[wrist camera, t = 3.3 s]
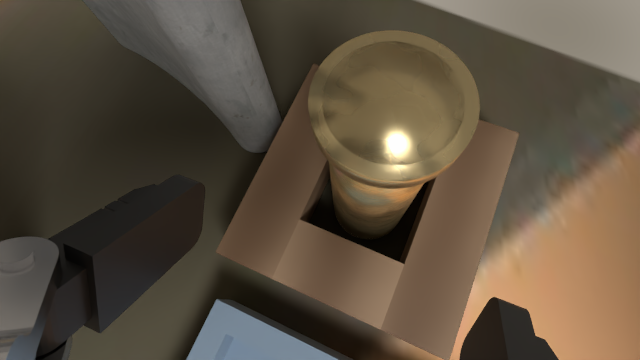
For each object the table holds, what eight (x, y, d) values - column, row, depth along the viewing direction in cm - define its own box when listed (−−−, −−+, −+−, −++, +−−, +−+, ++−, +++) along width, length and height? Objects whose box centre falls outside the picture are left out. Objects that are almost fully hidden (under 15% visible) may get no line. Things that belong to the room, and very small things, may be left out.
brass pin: (420, 185, 22) (500, 58, 11) (391, 259, 21) (448, 207, 9) (346, 156, 23) (346, 12, 11) (314, 226, 22) (280, 141, 10)
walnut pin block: (497, 154, 22) (519, 133, 19) (433, 352, 19) (448, 361, 16) (317, 91, 24) (313, 63, 22) (232, 259, 21) (215, 252, 18)
